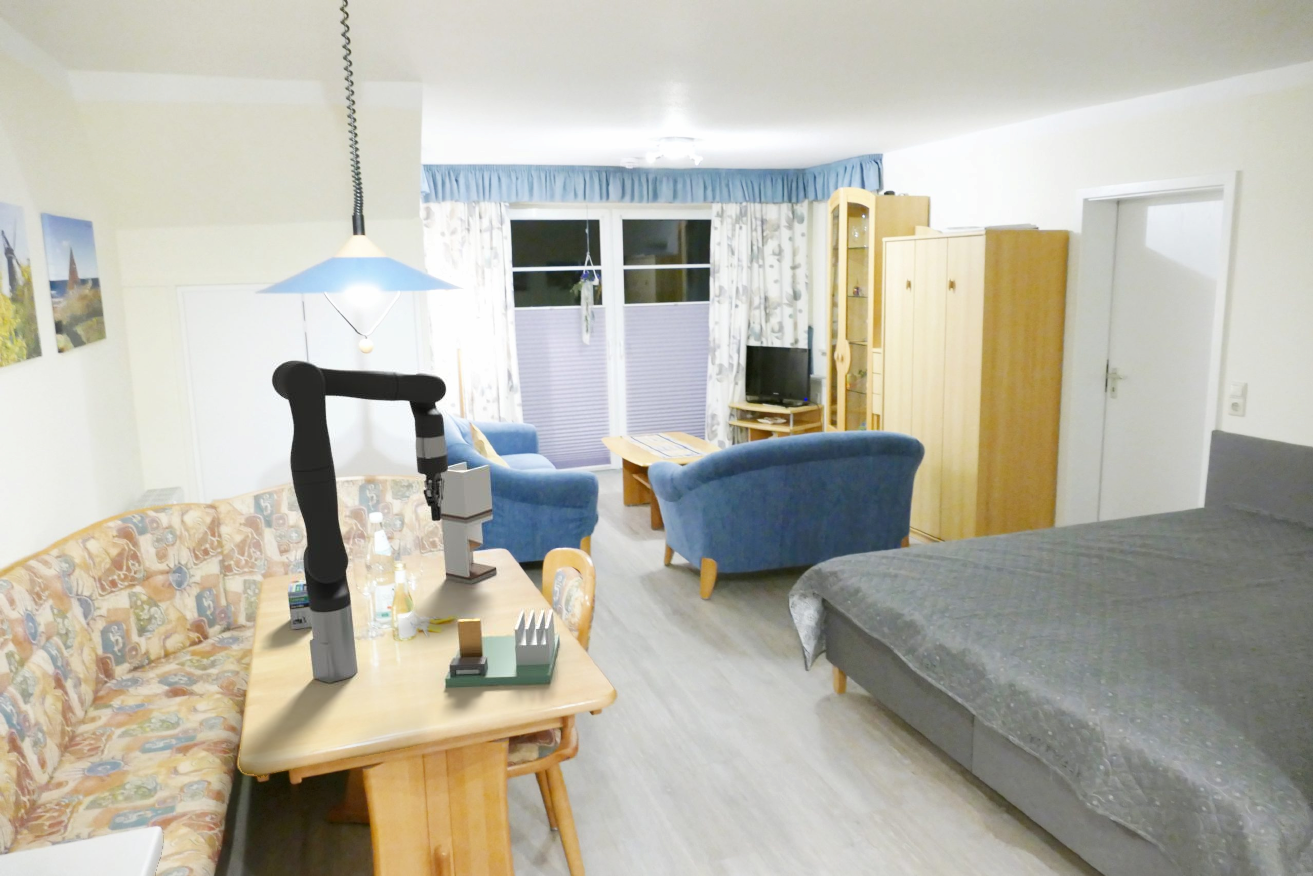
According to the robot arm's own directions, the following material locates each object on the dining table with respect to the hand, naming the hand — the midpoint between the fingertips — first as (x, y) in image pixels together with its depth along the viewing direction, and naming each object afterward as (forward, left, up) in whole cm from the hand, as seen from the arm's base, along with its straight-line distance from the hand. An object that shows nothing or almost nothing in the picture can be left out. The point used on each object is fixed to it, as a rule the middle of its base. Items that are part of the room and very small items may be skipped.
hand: (436, 520), depth 232 cm
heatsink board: (-4, -24, -32) cm, 40 cm away
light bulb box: (-10, +44, -32) cm, 55 cm away
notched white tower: (+40, +29, -32) cm, 59 cm away
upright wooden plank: (-14, -22, -30) cm, 40 cm away
